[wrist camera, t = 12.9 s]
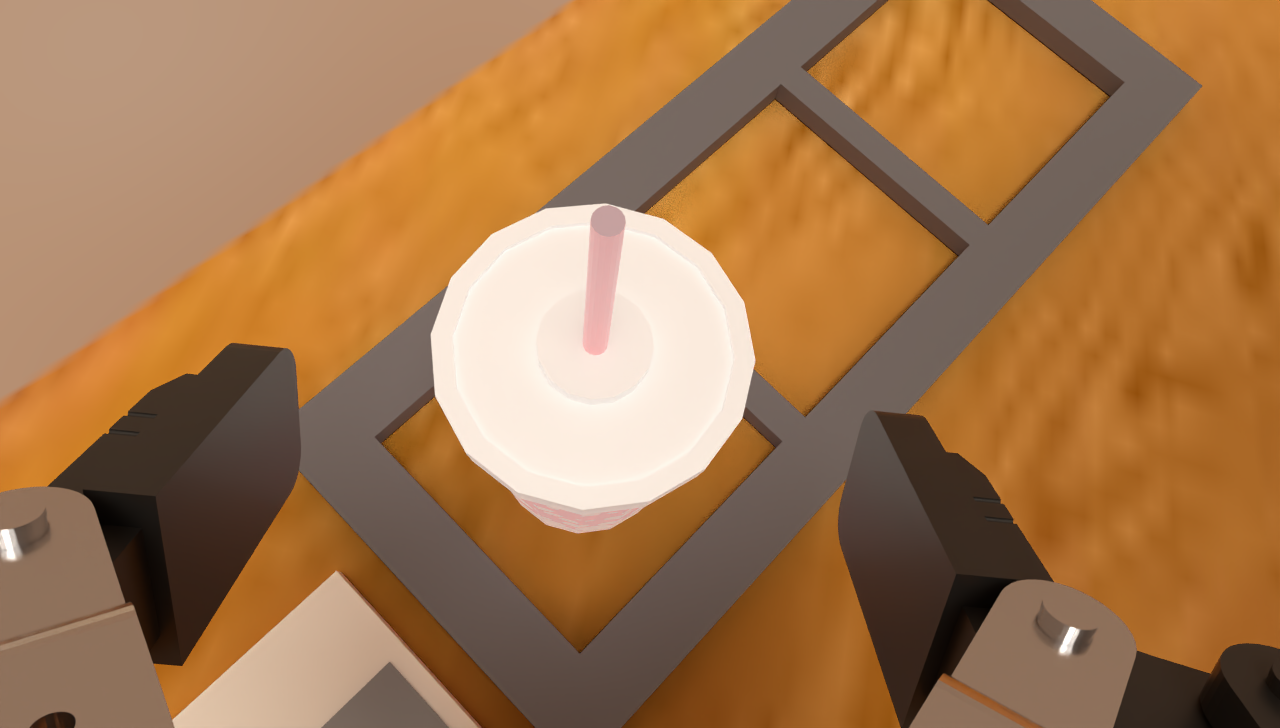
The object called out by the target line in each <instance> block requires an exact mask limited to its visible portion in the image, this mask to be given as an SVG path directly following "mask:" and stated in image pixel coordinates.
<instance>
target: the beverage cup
mask: <svg viewBox="0 0 1280 728" xmlns="http://www.w3.org/2000/svg"><path fill="white" fill-rule="evenodd" d="M431 347H432V360H433V374H434V388H435V396H436V399H437V400H438V402H439V404H440V406H441V408H442V410H443V412H444V413H445V415H446V417H447V419H448V421H449V423H450V425H451V426H452V428H453V430H454V432H455V434H456V436H457V437H458V439H459V441H460V443H461V445H462V447H463V449H464V450H465V452H466V454H467V455H468V456H469V457H470V459H471V460H472V461H473V462H474V463H476V464H477V465H478V466H479V467H481V468H482V469H483V470H485V471H486V472H487V473H488V474H490V475H491V476H492V477H494V478H495V479H496V480H497V481H499V482H500V483H501V484H502V485H504V486H505V487H506V488H508V489H509V490H510V491H511V492H512V494H513V495H514V496H515V498H516V499H517V500H518V502H519V503H520V504H521V505H522V506H523V507H524V508H525V509H527V510H528V511H529V512H531V513H532V514H533V515H534V516H536V517H537V518H538V519H539V520H541V521H542V522H543V523H545V524H546V525H549V526H552V527H556V528H560V529H563V530H567V531H571V532H574V533H584V532H592V531H599V530H607V529H611V528H612V527H614V526H616V525H618V524H619V523H621V522H623V521H624V520H626V519H628V518H630V517H631V516H633V515H635V514H636V513H638V512H639V511H640V510H641V509H642V508H643V507H645V506H647V505H649V504H651V503H652V502H654V501H656V500H657V499H659V498H661V497H663V496H664V495H666V494H668V493H669V492H671V491H673V490H675V489H676V488H678V487H680V486H681V485H683V484H685V483H687V482H688V481H690V480H692V479H693V478H695V477H697V476H698V475H699V474H700V473H702V472H703V471H704V470H705V468H706V467H707V466H708V464H709V463H710V462H711V460H712V459H713V458H714V456H715V455H716V454H717V452H718V451H719V450H720V448H721V447H722V445H723V444H724V443H725V441H726V440H727V439H728V437H729V436H730V435H731V433H732V432H733V431H734V429H735V428H736V426H737V425H738V424H739V422H740V421H741V420H742V418H743V413H744V409H745V404H746V400H747V395H748V391H749V386H750V382H751V377H752V373H753V368H754V364H755V356H754V351H753V346H752V340H751V335H750V330H749V325H748V320H747V314H746V309H745V304H744V301H743V300H742V298H741V297H740V295H739V294H738V292H737V291H736V289H735V288H734V286H733V285H732V283H731V282H730V280H729V279H728V277H727V276H726V274H725V273H724V271H723V270H722V268H721V267H720V265H719V263H718V262H717V260H716V259H715V257H714V256H713V254H712V253H711V252H709V251H708V250H706V249H705V248H704V247H702V246H701V245H699V244H698V243H697V242H695V241H694V240H692V239H691V238H690V237H688V236H687V235H685V234H684V233H682V232H681V231H680V230H678V229H677V228H675V227H674V226H673V225H671V224H670V223H668V222H667V221H666V220H664V219H662V218H658V217H654V216H650V215H647V214H643V213H639V212H636V211H632V210H628V209H625V208H621V207H617V206H613V205H610V204H606V203H605V204H593V205H581V206H569V207H558V208H546V209H544V210H542V211H540V212H537V213H535V214H533V215H531V216H529V217H527V218H525V219H523V220H521V221H519V222H516V223H514V224H512V225H510V226H508V227H506V228H504V229H502V230H500V231H497V232H495V233H493V234H491V236H490V237H489V238H488V239H487V240H486V241H485V242H484V243H483V244H482V245H481V246H480V247H479V248H478V250H477V251H476V252H475V253H474V254H473V255H472V256H471V257H470V258H469V259H468V260H467V261H466V262H465V263H464V265H463V266H462V267H461V268H460V269H459V270H458V271H457V272H456V273H455V274H454V275H453V276H452V277H451V279H450V282H449V285H448V288H447V290H446V293H445V296H444V299H443V302H442V304H441V307H440V310H439V313H438V315H437V318H436V321H435V324H434V326H433V329H432V332H431Z"/></svg>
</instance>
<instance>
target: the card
mask: <svg viewBox="0 0 1280 728" xmlns="http://www.w3.org/2000/svg"><path fill="white" fill-rule="evenodd" d="M172 721H173V724H174V727H175V728H482V727H481V726H480V725H479V724H478V723H477V722H476V720H475V719H474V718H473V717H472V716H471V715H470V714H469V713H468V712H467V710H466V709H465V708H464V707H463V706H462V705H461V704H460V703H459V702H458V701H457V699H456V698H455V697H454V696H453V695H452V694H451V693H450V692H449V691H448V689H447V688H446V687H445V686H444V685H443V684H442V683H441V682H440V681H439V680H438V678H437V677H436V676H435V675H434V674H433V673H432V672H431V671H430V670H429V668H428V667H427V666H426V665H425V664H424V663H423V662H422V661H421V660H420V659H419V657H418V656H417V655H416V654H415V653H414V652H413V651H412V650H411V649H410V647H409V646H408V645H407V644H406V643H405V642H404V641H403V640H402V639H401V638H400V636H399V635H398V634H397V633H396V632H395V631H394V630H393V629H392V628H391V626H390V625H389V624H388V623H387V622H386V621H385V620H384V619H383V618H382V617H381V615H380V614H379V613H378V612H377V611H376V610H375V609H374V608H373V607H372V606H371V604H370V603H369V602H368V601H367V600H366V599H365V598H364V597H363V596H362V594H361V593H360V592H359V591H358V590H357V589H356V588H355V587H354V586H353V585H352V583H351V582H350V581H349V580H348V579H347V578H346V577H345V576H344V575H343V573H341V572H339V571H335V572H334V573H333V574H332V575H331V576H330V577H329V578H328V579H327V580H326V581H324V582H323V583H322V584H321V585H320V586H319V587H318V588H317V589H316V590H315V591H313V592H312V593H311V594H310V595H309V596H308V597H307V598H306V599H305V600H304V601H302V602H301V603H300V604H299V605H298V606H297V607H296V608H295V609H294V610H293V611H291V612H290V613H289V614H288V615H287V616H286V617H285V618H284V619H283V620H282V621H281V622H279V623H278V624H277V625H276V626H275V627H274V628H273V629H272V630H271V631H270V632H268V633H267V634H266V635H265V636H264V637H263V638H262V639H261V640H260V641H259V642H257V643H256V644H255V645H254V646H253V647H252V648H251V649H250V650H249V651H248V652H246V653H245V654H244V655H243V656H242V657H241V658H240V659H239V660H238V661H237V662H235V663H234V664H233V665H232V666H231V667H230V668H229V669H228V670H227V671H226V672H224V673H223V674H222V675H221V676H220V677H219V678H218V679H217V680H216V681H215V682H213V683H212V684H211V685H210V686H209V687H208V688H207V689H206V690H205V691H204V692H202V693H201V694H200V695H199V696H198V697H197V698H196V699H195V700H194V701H193V702H191V703H190V704H189V705H188V706H187V707H186V708H185V709H184V710H183V711H182V712H180V713H179V714H178V715H177V716H176V717H175V718H174V719H173V720H172Z"/></svg>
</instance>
